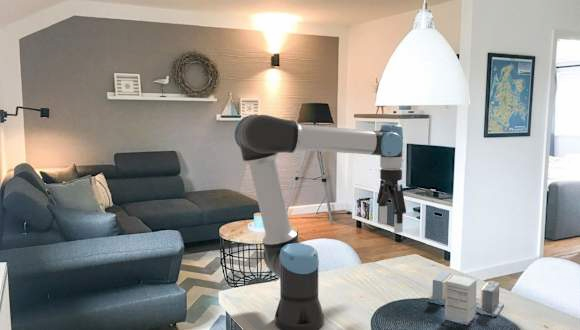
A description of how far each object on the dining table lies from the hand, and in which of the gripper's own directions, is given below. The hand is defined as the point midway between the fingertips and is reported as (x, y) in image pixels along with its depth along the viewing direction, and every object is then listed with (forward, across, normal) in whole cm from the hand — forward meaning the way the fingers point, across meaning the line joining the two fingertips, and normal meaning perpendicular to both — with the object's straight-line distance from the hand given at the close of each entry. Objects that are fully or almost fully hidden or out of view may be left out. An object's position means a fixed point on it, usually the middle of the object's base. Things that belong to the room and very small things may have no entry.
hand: (390, 227), depth 172 cm
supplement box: (+24, -27, -12) cm, 38 cm away
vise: (+23, -17, -20) cm, 35 cm away
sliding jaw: (+22, -11, -15) cm, 29 cm away
